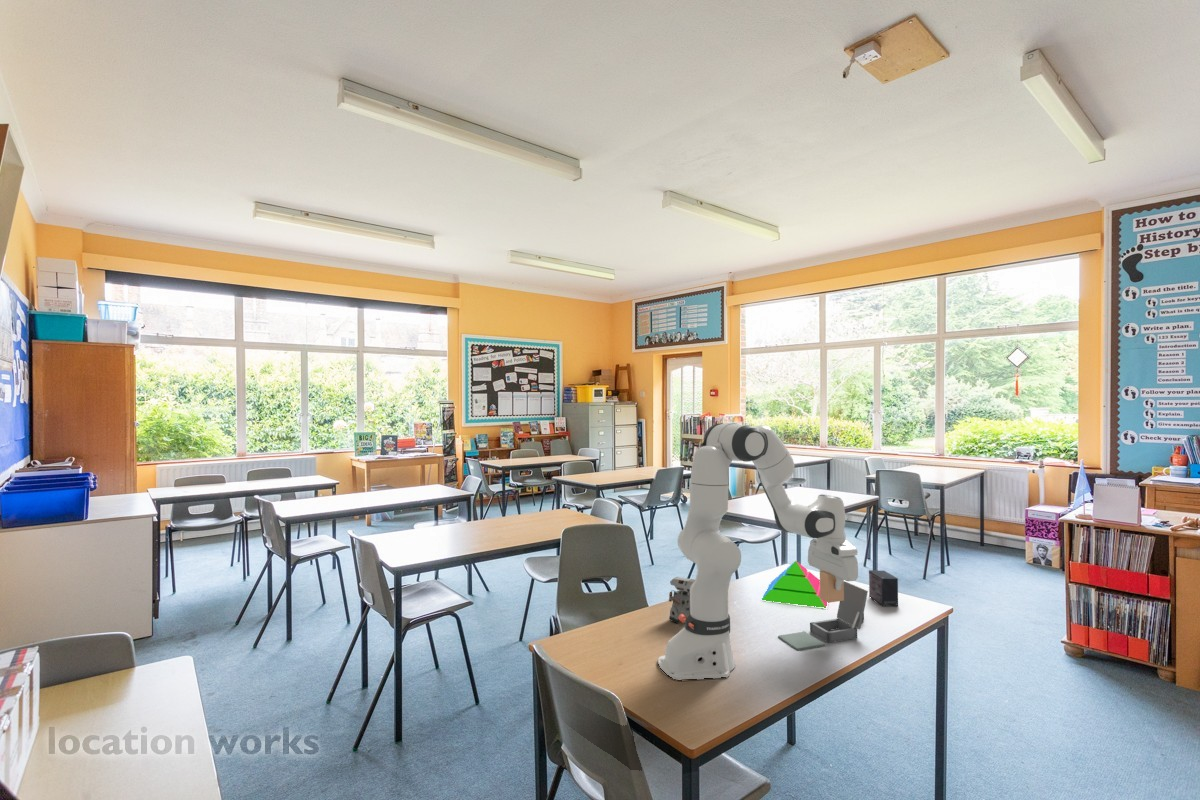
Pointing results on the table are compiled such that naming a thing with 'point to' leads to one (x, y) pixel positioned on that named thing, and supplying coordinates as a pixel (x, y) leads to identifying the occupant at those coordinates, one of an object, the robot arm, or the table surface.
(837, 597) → the block
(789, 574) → the pyramid toy
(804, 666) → the table surface
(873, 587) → the small box
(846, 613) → the equipment case
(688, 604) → the figurine
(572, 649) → the table surface
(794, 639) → the rubber mat
